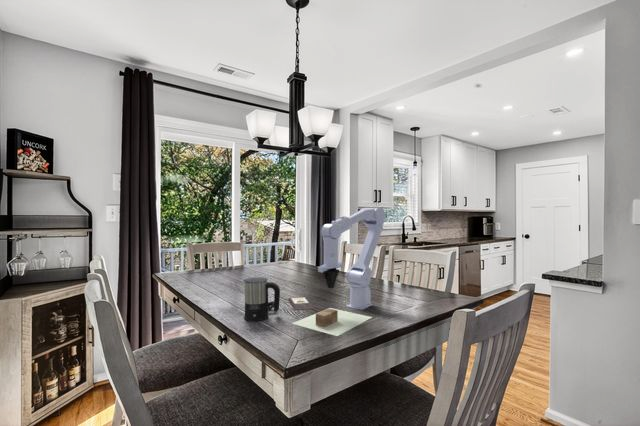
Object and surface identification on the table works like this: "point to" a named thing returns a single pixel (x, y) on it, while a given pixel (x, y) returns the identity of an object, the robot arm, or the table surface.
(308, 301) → the chocolate bar
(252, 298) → the milk frother
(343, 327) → the sage mat
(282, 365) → the table surface
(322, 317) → the walnut block
